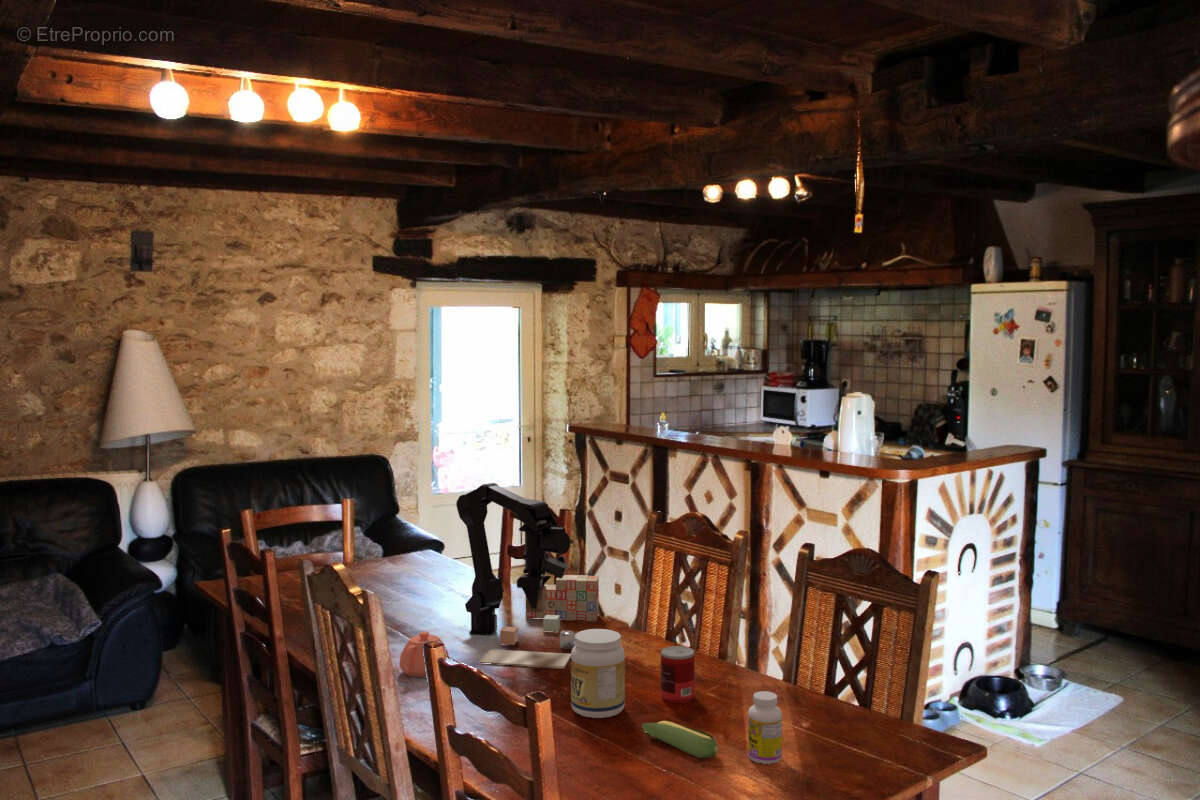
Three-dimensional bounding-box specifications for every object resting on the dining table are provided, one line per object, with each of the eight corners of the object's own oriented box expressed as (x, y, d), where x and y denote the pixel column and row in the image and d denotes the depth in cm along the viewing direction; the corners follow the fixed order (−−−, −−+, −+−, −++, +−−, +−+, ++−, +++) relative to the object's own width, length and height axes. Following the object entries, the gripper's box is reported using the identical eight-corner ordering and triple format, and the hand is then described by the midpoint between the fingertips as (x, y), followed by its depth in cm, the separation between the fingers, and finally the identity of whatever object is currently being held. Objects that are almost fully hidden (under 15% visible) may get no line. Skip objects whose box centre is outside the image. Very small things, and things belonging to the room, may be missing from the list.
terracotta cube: (500, 645, 266) (500, 630, 266) (504, 640, 270) (503, 626, 270) (514, 646, 266) (514, 631, 265) (518, 641, 269) (518, 627, 269)
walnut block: (526, 612, 262) (525, 589, 262) (530, 607, 267) (529, 585, 266) (542, 612, 262) (542, 590, 261) (546, 608, 266) (546, 586, 266)
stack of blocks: (525, 619, 290) (524, 578, 289) (528, 613, 296) (528, 573, 296) (597, 621, 288) (596, 580, 287) (599, 615, 294) (598, 575, 294)
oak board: (479, 664, 251) (479, 661, 251) (490, 651, 260) (490, 649, 260) (563, 668, 247) (563, 666, 247) (571, 656, 257) (571, 653, 257)
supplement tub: (562, 704, 223) (562, 630, 222) (611, 696, 228) (611, 624, 227) (583, 723, 212) (583, 646, 211) (634, 714, 217) (634, 639, 216)
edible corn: (708, 766, 192) (708, 743, 191) (635, 736, 206) (635, 714, 206) (725, 758, 195) (725, 736, 195) (652, 729, 210) (652, 708, 209)
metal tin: (558, 649, 262) (558, 634, 262) (561, 644, 266) (561, 630, 266) (573, 650, 262) (573, 635, 262) (576, 645, 266) (576, 630, 265)
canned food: (697, 693, 230) (697, 647, 229) (689, 705, 222) (689, 658, 221) (666, 689, 232) (666, 644, 231) (656, 701, 225) (656, 654, 224)
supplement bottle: (744, 752, 197) (744, 689, 197) (776, 750, 198) (777, 688, 197) (752, 766, 191) (752, 702, 190) (785, 765, 191) (786, 700, 190)
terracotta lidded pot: (459, 668, 248) (458, 628, 247) (426, 686, 235) (426, 644, 234) (418, 662, 253) (418, 623, 252) (385, 679, 240) (384, 638, 239)
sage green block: (543, 632, 277) (543, 618, 277) (546, 628, 281) (546, 614, 281) (557, 633, 277) (556, 619, 277) (560, 629, 281) (559, 615, 280)
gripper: (558, 557, 253) (558, 617, 254) (571, 542, 271) (572, 598, 272) (515, 556, 254) (516, 615, 255) (532, 541, 273) (532, 596, 274)
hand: (536, 606), depth 264 cm, fingers closed on walnut block, 4 cm apart
